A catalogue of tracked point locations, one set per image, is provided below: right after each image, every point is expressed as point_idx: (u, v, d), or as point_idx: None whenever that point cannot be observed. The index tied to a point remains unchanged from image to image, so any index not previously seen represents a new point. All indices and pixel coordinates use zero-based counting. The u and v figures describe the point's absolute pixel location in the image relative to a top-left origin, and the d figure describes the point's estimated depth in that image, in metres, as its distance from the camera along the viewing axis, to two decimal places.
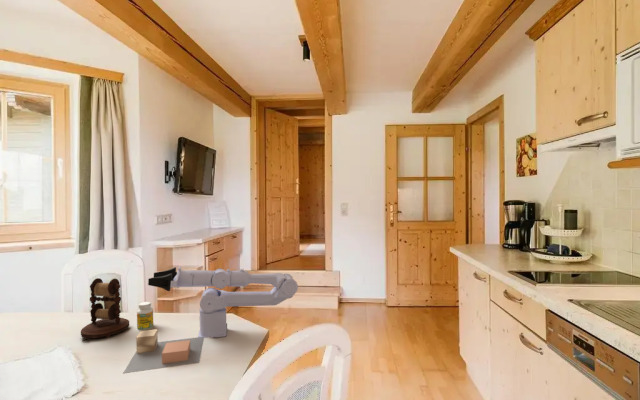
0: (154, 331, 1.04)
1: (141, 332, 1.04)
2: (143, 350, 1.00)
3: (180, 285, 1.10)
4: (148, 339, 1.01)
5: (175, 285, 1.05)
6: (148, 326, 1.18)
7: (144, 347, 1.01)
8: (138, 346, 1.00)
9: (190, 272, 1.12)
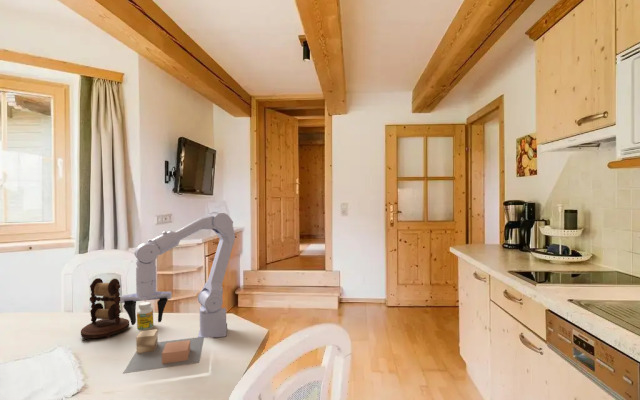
0: (154, 331, 1.04)
1: (141, 332, 1.04)
2: (143, 350, 1.00)
3: None
4: (148, 339, 1.01)
5: (171, 293, 1.05)
6: (148, 326, 1.18)
7: (144, 347, 1.01)
8: (138, 346, 1.00)
9: (149, 285, 1.01)
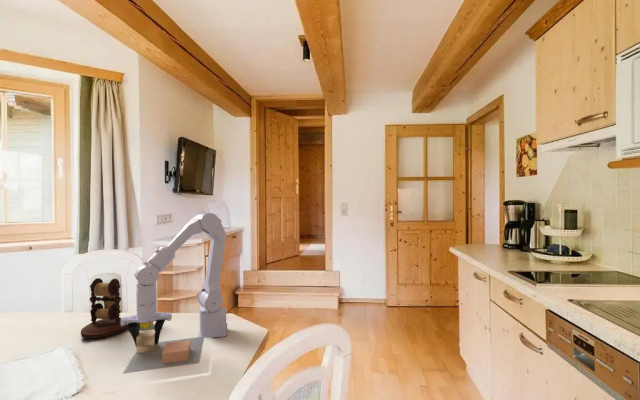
0: (154, 331, 1.04)
1: (141, 332, 1.04)
2: (143, 350, 1.00)
3: None
4: (148, 339, 1.01)
5: (171, 314, 1.05)
6: (148, 326, 1.18)
7: (144, 347, 1.01)
8: (138, 346, 1.00)
9: (149, 307, 1.01)
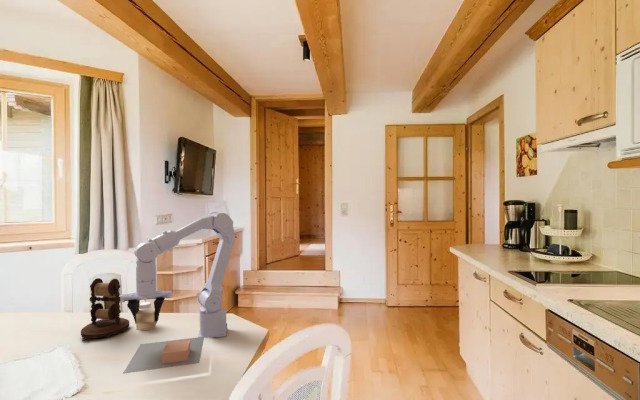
0: (154, 309, 1.04)
1: (141, 309, 1.03)
2: (143, 327, 1.00)
3: None
4: (147, 316, 1.01)
5: (171, 292, 1.05)
6: None
7: (144, 324, 1.00)
8: (138, 323, 1.00)
9: (149, 284, 1.01)
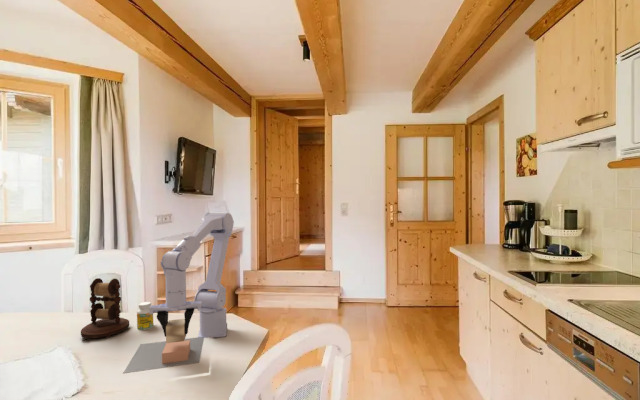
0: (183, 320, 0.99)
1: (170, 321, 0.98)
2: (173, 340, 0.95)
3: None
4: (177, 329, 0.96)
5: (201, 302, 1.00)
6: (148, 326, 1.18)
7: (174, 337, 0.95)
8: (168, 336, 0.95)
9: (179, 295, 0.96)
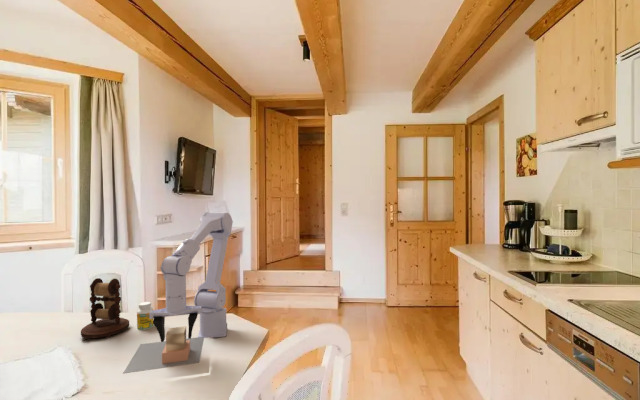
0: (183, 328, 0.99)
1: (170, 329, 0.98)
2: (173, 348, 0.95)
3: None
4: (177, 337, 0.96)
5: (201, 307, 1.00)
6: (148, 326, 1.18)
7: (174, 345, 0.96)
8: (168, 344, 0.95)
9: (179, 300, 0.96)
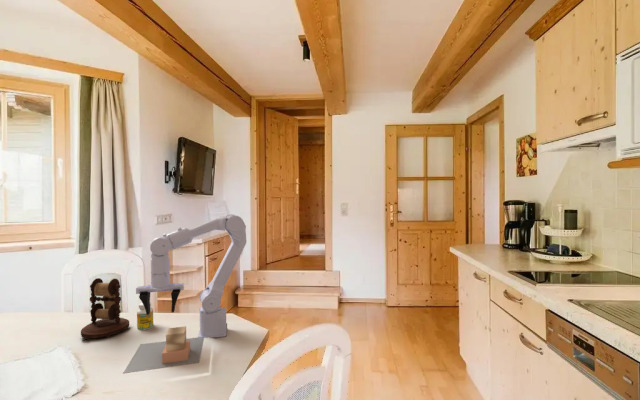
0: (183, 328, 0.99)
1: (170, 329, 0.98)
2: (173, 348, 0.95)
3: None
4: (177, 337, 0.96)
5: (183, 284, 1.10)
6: (148, 326, 1.18)
7: (174, 345, 0.96)
8: (168, 344, 0.95)
9: (163, 277, 1.06)
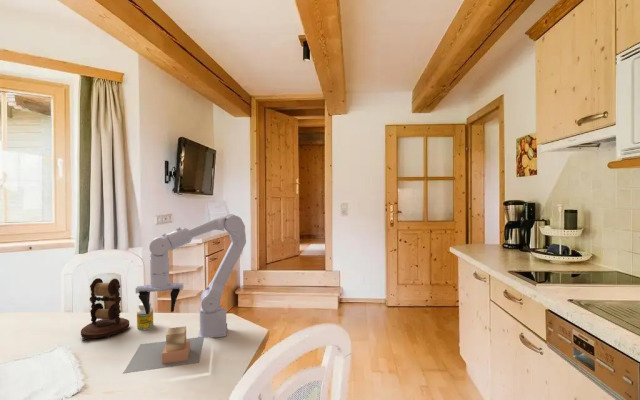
0: (183, 328, 0.99)
1: (170, 329, 0.98)
2: (173, 348, 0.95)
3: None
4: (177, 337, 0.96)
5: None
6: (147, 326, 1.18)
7: (174, 345, 0.96)
8: (168, 344, 0.95)
9: (162, 276, 1.06)
